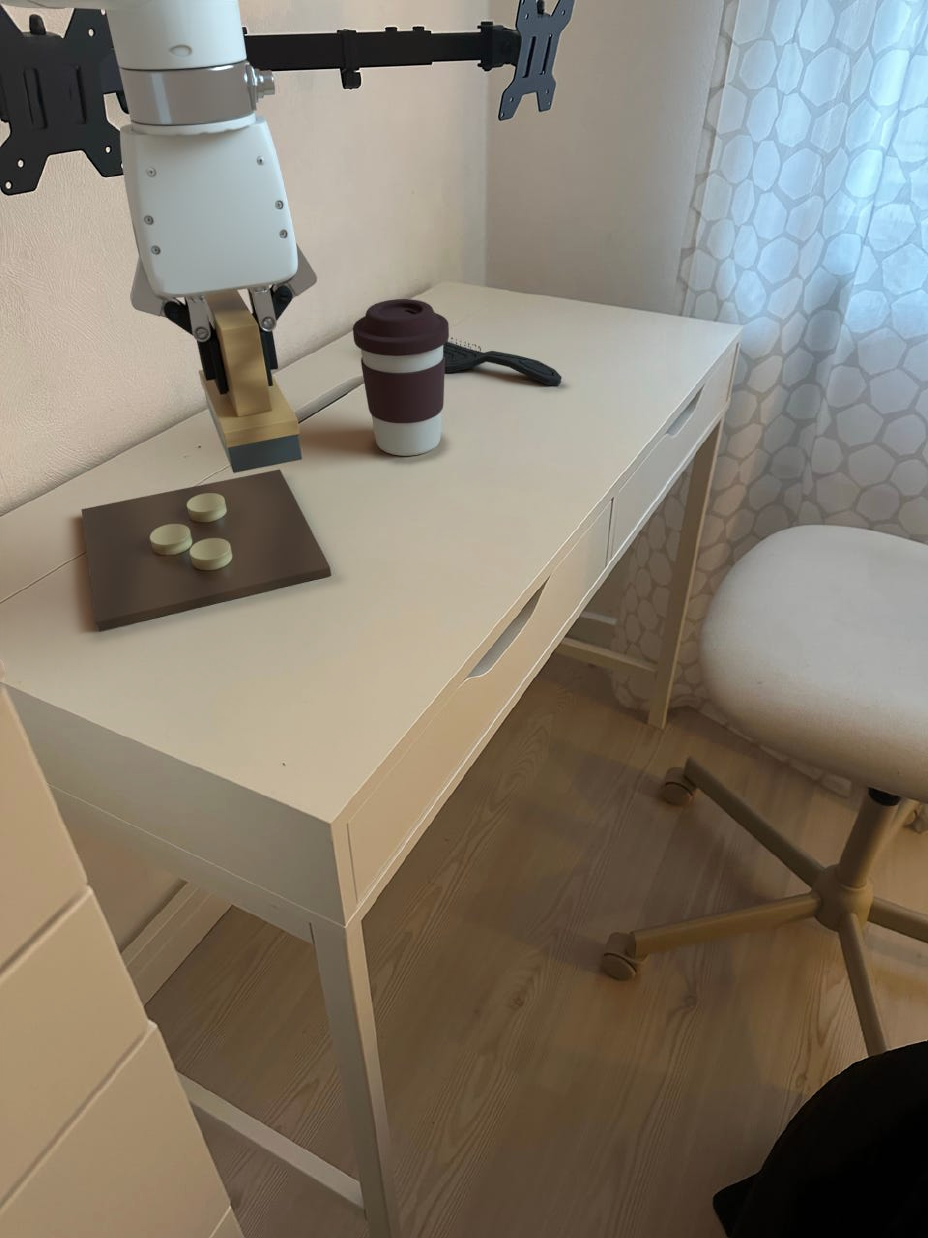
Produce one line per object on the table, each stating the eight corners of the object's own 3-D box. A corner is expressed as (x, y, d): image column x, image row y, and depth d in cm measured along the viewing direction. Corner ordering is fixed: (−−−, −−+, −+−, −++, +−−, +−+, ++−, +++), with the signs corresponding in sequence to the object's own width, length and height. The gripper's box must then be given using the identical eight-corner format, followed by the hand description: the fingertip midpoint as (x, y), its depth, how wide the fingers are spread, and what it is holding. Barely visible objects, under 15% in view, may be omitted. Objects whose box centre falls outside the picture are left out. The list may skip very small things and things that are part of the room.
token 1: (155, 559, 81) (151, 548, 80) (150, 539, 84) (147, 528, 83) (195, 550, 82) (192, 539, 81) (189, 531, 85) (186, 520, 84)
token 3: (195, 574, 79) (192, 563, 78) (189, 553, 82) (186, 542, 81) (235, 565, 80) (233, 553, 79) (228, 545, 83) (226, 534, 82)
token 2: (192, 525, 85) (189, 514, 85) (186, 508, 88) (184, 497, 87) (229, 517, 86) (227, 506, 86) (223, 500, 89) (221, 489, 88)
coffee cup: (369, 467, 96) (356, 329, 87) (360, 428, 104) (346, 297, 95) (460, 457, 97) (456, 320, 88) (444, 419, 105) (438, 289, 96)
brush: (232, 473, 63) (204, 342, 57) (206, 408, 72) (180, 288, 66) (303, 459, 65) (284, 330, 59) (270, 396, 74) (250, 278, 68)
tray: (98, 631, 74) (95, 622, 74) (84, 517, 89) (81, 508, 88) (331, 575, 80) (330, 566, 79) (281, 477, 95) (280, 468, 94)
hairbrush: (547, 374, 108) (375, 331, 117) (545, 403, 110) (376, 358, 119) (575, 351, 113) (409, 312, 123) (572, 379, 116) (409, 338, 125)
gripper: (304, 80, 60) (336, 348, 71) (49, 101, 55) (126, 383, 67) (333, 95, 54) (362, 383, 65) (52, 119, 50) (135, 424, 61)
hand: (243, 381), depth 66 cm, fingers closed on brush, 2 cm apart
